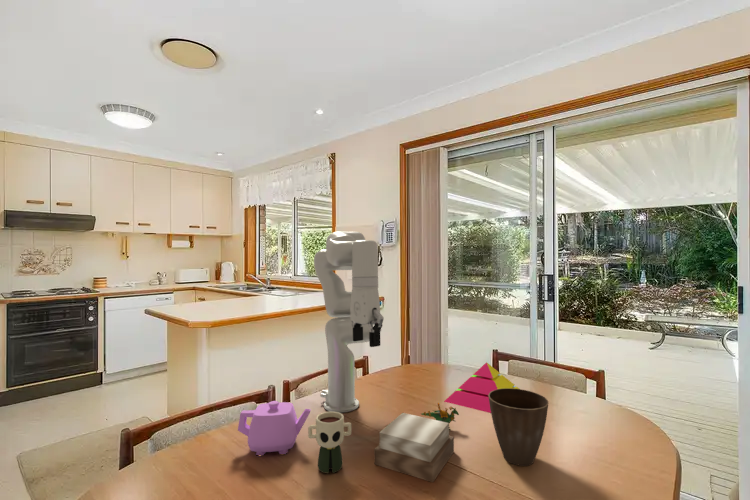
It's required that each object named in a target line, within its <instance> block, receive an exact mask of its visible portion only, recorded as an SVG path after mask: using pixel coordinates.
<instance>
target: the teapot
mask: <svg viewBox="0 0 750 500" xmlns="http://www.w3.org/2000/svg"><path fill="white" fill-rule="evenodd" d="M311 410H312V409H311V408H304V411H302V413H301V415H300V416H299V417H297V412H296V409H295V407H294V404H293V403H292V402H286V401H282V402H279V401H277V400H272V401H269V402H267V403H266V402H265V403H260V404H258V405H257V407H256V408H255V409H254V410H253V409H251V410H250V409H249V410H244V409H243V410H242V411H241V412H240V413H239V419H238V426H237V431H238V432H239V433H242V434H243V435H245V436H246V437H247V446H248V448H249V450H250V451H251V452H256V453H255V456H256V455H261V456H260V457H262V455H263V456H265V455H266V453H271V452H272V453H273V452H278V454H279V455H280V454H285V455H287V454H288V453H289V450H291V449H292V448H293V447H294V445H295V443H296V441H297V438H298V435H299V434H300V433H301V430H302V428H303V426H304V424H305V423H306V420H307V419H308V417H309V415H310V413H311ZM247 418H251V421H250V424H248V423H247ZM287 452H288V453H287ZM286 453H287V454H286ZM264 454H265V455H264Z"/></svg>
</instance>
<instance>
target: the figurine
mask: <svg viewBox="0 0 750 500" xmlns="http://www.w3.org/2000/svg"><path fill="white" fill-rule="evenodd" d="M437 408H438V409H436V410H433V409H432V412H431V410H427V412H426V411H423V412H422V413H420V415H422V416H424V417H425V416H427V417H429V418H434V420H438V421H442V422H447V423H449V424H450V423H451V422H456V420H455V419H456V417H455V415H457V416H459V415H460V414H459V411H458V410H457V409H456V408H457V407H452V406H449V407H448V408H447V407H445V410H444V409H441V405H440V403H439V402H437ZM448 409H449V410H450V413H449V412H448ZM449 431H451V428H450V426H449Z"/></svg>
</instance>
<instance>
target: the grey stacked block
mask: <svg viewBox="0 0 750 500" xmlns="http://www.w3.org/2000/svg"><path fill="white" fill-rule="evenodd" d="M449 427H450V423H447V422H442V421H438V420H436V419H432V418H430V417H429V418H428V417H425V416H419V415H415V414H411V413H406V412H402V413H401V414H399V415H398V416H397V417H396V418H394V419H393V421H391V422H390V423H389V424H388V425H387V426H386V427H384V428H383V429H382V430H381V431H379V444H378V445H377V446H376V447H375V448H374V453H373V454H374V457H373V458H374V466H375V465H376V466H379V467H382V468H385V469H388V470H391V471H394V472H398V473H402V474H405V475H409V476H411V477H414V478H418V479H420V480H424V481H426V482H430V483H434V481H436V479H437V478H438V476H439V474H440V473H441V472H442V470H443V468H444V467H445V465H446V464H447V463H448V461H449V459H450V458H451V457H452V456H453V453H454V452H455V442H454V441H455V440H454V439H455V438H454V436H452V435H450V430H449V429H450V428H449Z"/></svg>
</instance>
